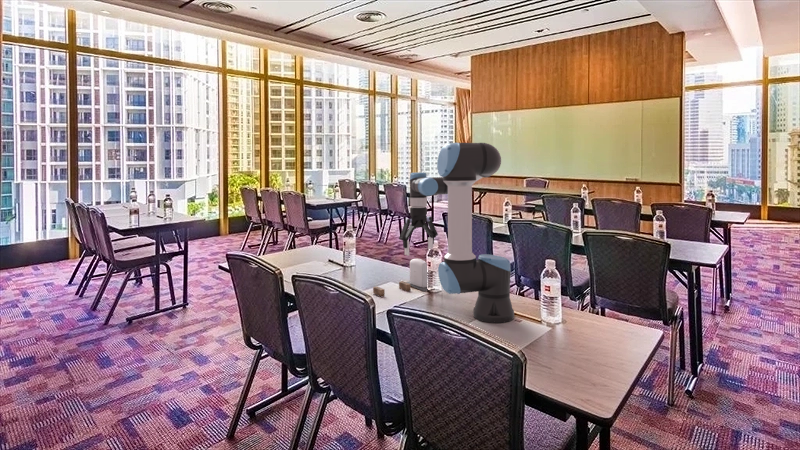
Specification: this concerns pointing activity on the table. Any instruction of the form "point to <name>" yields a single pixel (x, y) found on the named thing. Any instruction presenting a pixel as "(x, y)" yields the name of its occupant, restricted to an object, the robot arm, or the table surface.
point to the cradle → (402, 285)
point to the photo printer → (418, 272)
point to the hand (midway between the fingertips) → (419, 253)
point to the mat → (418, 287)
